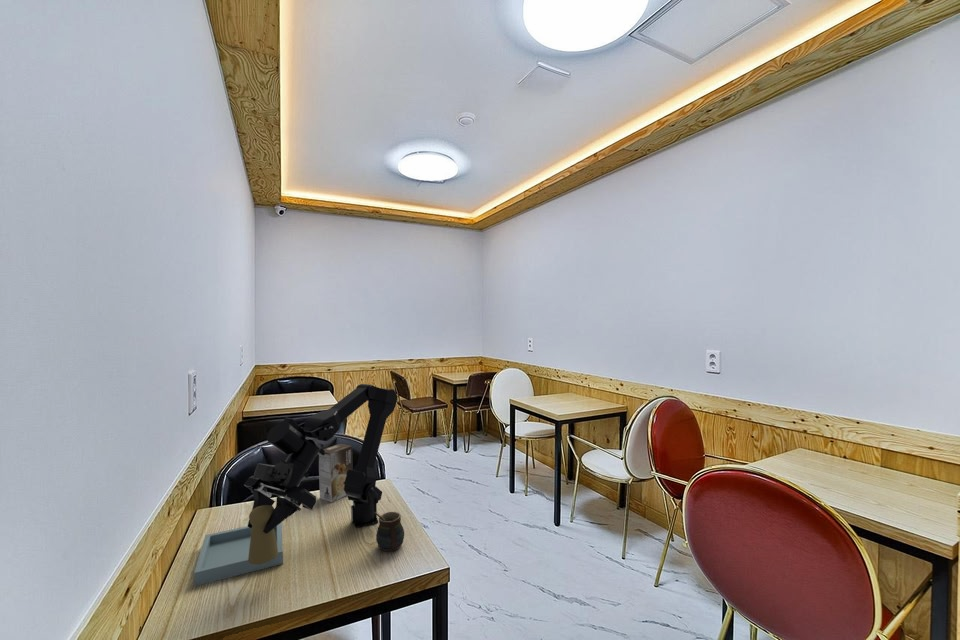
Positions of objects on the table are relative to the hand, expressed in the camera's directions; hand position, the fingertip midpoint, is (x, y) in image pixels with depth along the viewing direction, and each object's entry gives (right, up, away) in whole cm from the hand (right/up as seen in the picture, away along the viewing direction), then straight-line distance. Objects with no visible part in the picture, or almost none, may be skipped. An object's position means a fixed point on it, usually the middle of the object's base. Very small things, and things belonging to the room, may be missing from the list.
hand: (256, 530), depth 91 cm
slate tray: (-11, -13, +14) cm, 22 cm away
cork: (+1, -7, +1) cm, 7 cm away
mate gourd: (+26, -13, +16) cm, 33 cm away
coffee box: (+1, -13, +48) cm, 49 cm away
